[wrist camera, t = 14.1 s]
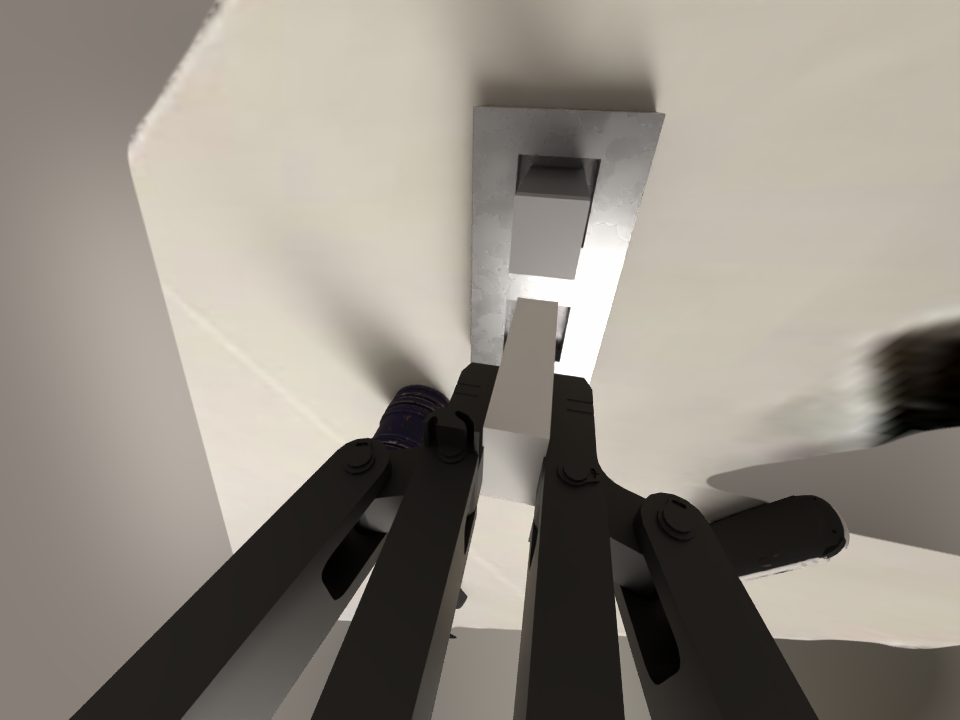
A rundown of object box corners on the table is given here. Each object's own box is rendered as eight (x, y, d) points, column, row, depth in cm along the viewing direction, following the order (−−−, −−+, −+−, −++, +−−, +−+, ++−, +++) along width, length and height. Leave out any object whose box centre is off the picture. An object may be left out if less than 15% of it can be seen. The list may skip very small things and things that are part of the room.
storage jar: (452, 387, 50) (416, 476, 38) (458, 434, 56) (428, 523, 44) (387, 381, 52) (334, 464, 40) (400, 427, 58) (356, 510, 46)
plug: (584, 168, 30) (590, 200, 21) (573, 227, 33) (574, 280, 24) (531, 164, 31) (514, 195, 21) (525, 223, 34) (508, 273, 24)
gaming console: (685, 527, 58) (696, 535, 59) (697, 583, 51) (710, 592, 51) (815, 481, 47) (827, 491, 47) (853, 544, 40) (868, 556, 40)
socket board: (656, 112, 28) (665, 113, 25) (587, 369, 43) (588, 387, 41) (482, 105, 30) (473, 106, 27) (476, 353, 46) (470, 369, 43)
